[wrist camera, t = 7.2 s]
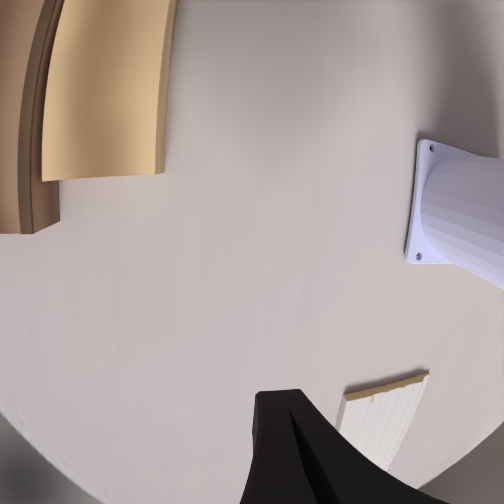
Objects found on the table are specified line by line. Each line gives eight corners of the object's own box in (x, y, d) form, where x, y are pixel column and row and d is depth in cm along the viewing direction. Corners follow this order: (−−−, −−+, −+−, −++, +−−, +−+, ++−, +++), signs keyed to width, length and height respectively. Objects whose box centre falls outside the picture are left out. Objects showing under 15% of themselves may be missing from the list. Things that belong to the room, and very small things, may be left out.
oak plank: (197, -86, 10) (196, -111, 7) (165, 172, 16) (154, 174, 13) (115, -76, 9) (106, -98, 6) (67, 177, 15) (42, 181, 12)
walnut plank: (118, -89, 8) (110, -112, 5) (59, 221, 15) (32, 234, 12) (31, -61, 7) (16, -77, 4) (-27, 223, 14) (-55, 234, 11)
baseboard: (436, 364, 23) (339, 389, 22) (453, 381, 20) (352, 413, 19) (366, 507, 31) (303, 523, 30) (371, 520, 29) (307, 537, 28)
